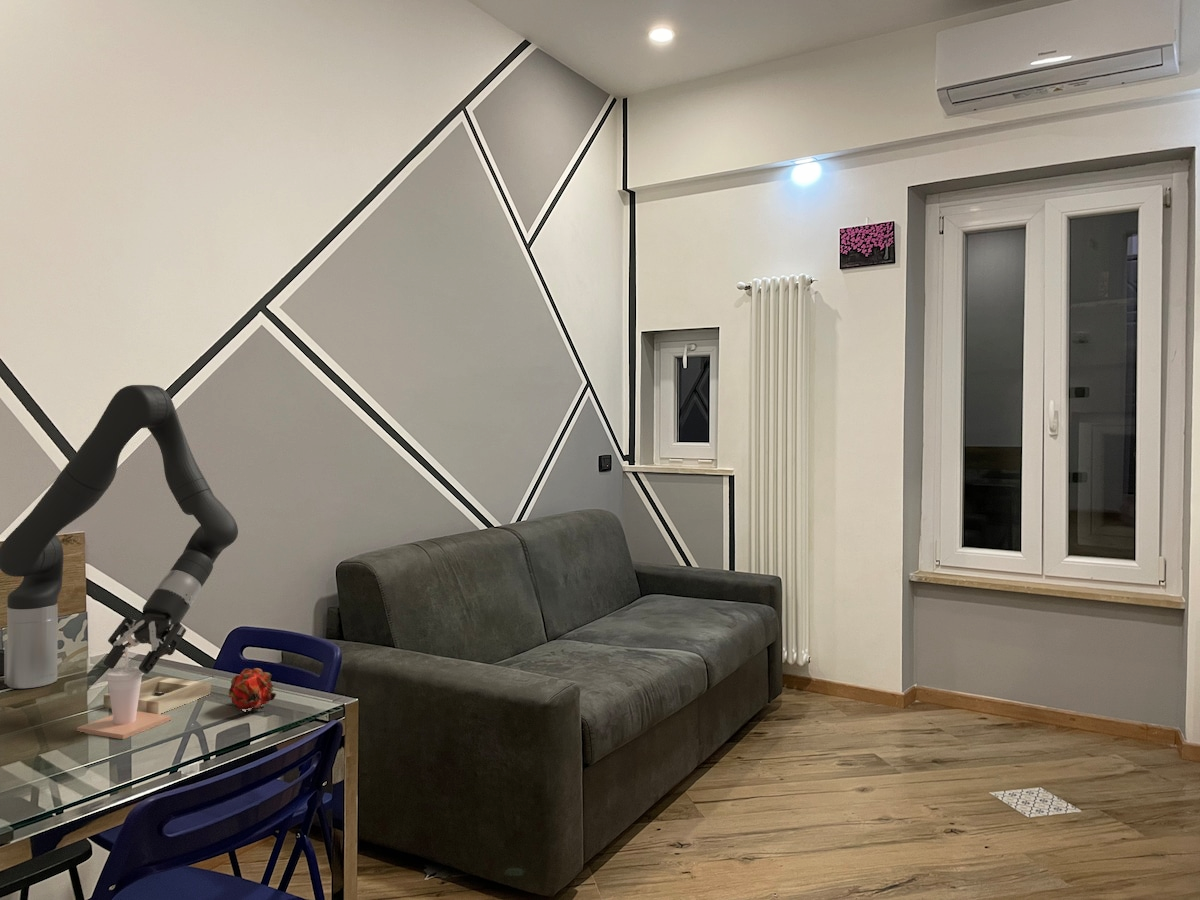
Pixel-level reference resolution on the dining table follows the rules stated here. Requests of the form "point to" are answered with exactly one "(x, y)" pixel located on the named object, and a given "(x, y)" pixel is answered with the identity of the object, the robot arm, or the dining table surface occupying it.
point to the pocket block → (175, 697)
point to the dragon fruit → (251, 689)
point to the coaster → (124, 725)
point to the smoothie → (124, 691)
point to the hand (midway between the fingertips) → (125, 669)
